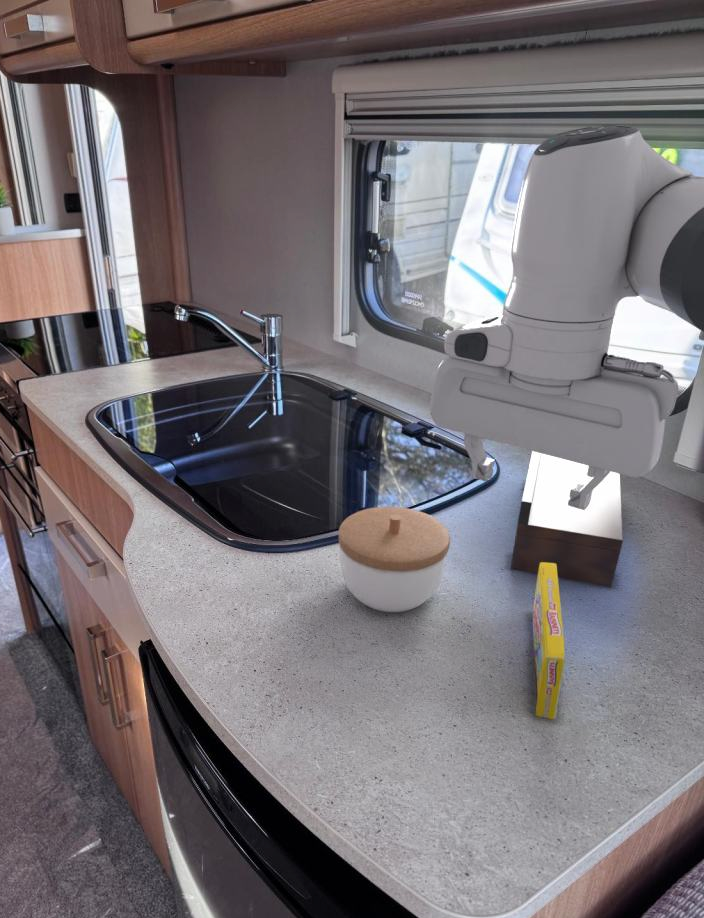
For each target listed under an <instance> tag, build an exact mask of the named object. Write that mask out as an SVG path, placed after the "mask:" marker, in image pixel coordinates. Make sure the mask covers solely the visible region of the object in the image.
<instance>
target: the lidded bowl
mask: <svg viewBox="0 0 704 918" xmlns="http://www.w3.org/2000/svg"><path fill="white" fill-rule="evenodd" d="M450 536H451V535H450V532H449V530H448V528H447V527H446V526H445V525H444V524H443V523H442V522H441V520H439V519H437V518H435V517H434V516H433V515H430V514H428V513H425V512H424V511H423V512H422V511H420V510H417V509H412V508H407V507H403V506H402V507H401V506H377V507H370V508H365V509H363V510H359V511H357V512H355V513H352V514H351V515H349V516H347V517H346V518H345V519H344V520H343V521H342V522H341V524H340V525H339V528H338V545H339V563H340V570H341V574H342V578H343V581H344V583H345V585H346V587H347V589H348V591H350V593H351V594H352V595H353V596H354V597H355V599H357V600H358V601H359V602H361V604H363V605H365V606H366V607H368V608H370V609H373V610H376V611H379V612H384V613H402V612H407V611H410V610H411V611H412V610H413V609H415V608H417V607H420V606H421V605H422V604H424V603H425V602H427V601H428V600H429V599H430V598H431V597H432V596H433V595H434V594H435V592H436V590H437V589H438V587H439V585H440V584H441V581H442V578H443V576H444V572H445V570H446V566H447V565H446V564H447V558H448V552H449V549H450V546H451V545H450V544H451V537H450Z"/></svg>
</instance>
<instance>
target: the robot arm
mask: <svg viewBox="0 0 704 918" xmlns="http://www.w3.org/2000/svg"><path fill="white" fill-rule="evenodd" d="M516 206H517V207H516V212H515V218H514V224H513V229H512V231H513V232H512V237H511V244H510V259H511V264H512V273H511V281H510V285H509V288H508V291H507V293H506V295H505V298H504V300H503V306H502V307H503V308H502V315H497V316H491V317H483V318H480V319H477V320H473V321H470V322H467V323H465V324H463V325H461V326H459V327H457V328H455V329H453V330H451V331H450V332H448V333H446V335H445V337H444V343H443V345H444V346H443V347H444V349H443V350H444V353H445V355H447V357H445V358H444V359H442V361H441V362H440V364H439V365H438V367H437V368H436V373H435V377H434V380H433V386H432V392H431V399H430V407H429V408H430V410H429V411H430V412H429V413H430V414H429V415H430V417H431V419H432V420H433V422H434V424H435V425H436V427H438V428H441V429H445V430H450V431H453V432H457V433H460V434H464V438H463V445H464V448H465V450H466V452H467V454H468V456H469V459H470V461H471V462H472V466H471V467H472V468H471V474H470V475H471V478H472V479H476V480H479V481H483V482H488V480H490V479H491V478H492V477H493V474H494V467H495V462H496V460H495V459H493V458H489V457H488V455H487V453H486V450H485V447H484V444H483V442H484V441H486V440H488V441H491V442H496V443H499V444H502V445H503V444H504V445H507V446H511V447H515V448H519V449H523V450H526V451H530V452H532V451H534V452H538V453H542V454H546V455H549V456H553V457H557V458H561V459H565V460H569V461H573V462H576V463H580V464H584V465H588V466H589V467H588V472H587V476H589V477H593V478H592V479H591V480H590V481H589V482H588V483H587V484H586V485H585V484H581V483H576V484H575V487H573V488H572V489H571V490H570V495H569V496H570V499H569V501H568V506H572V507H575V508H578V509H582V510H585V509H586V508H587V507H588V505H589V503H590V500H591V496H592V491H593V489H594V488H595V487H596V486H597V485H598V484H600V483H601V482H602V481H603V480H604V478H605V477H606V476H607V475H608V474H609V473H610V471H611V472H615V473H619V474H620V475H622V476H627V477H631V478H640V477H642V476H644V475H646V474H648V473H649V472H651V471H652V470H653V469H654V467H655V466H656V464H657V463H658V461H659V459H660V456H661V452H662V447H663V442H664V435H665V425H666V419H667V418H668V417H669V416H670V415H671V414H672V413H673V412H674V409H675V405H676V402H677V399H678V394H679V383H678V380H677V379H676V377H675V376H674V375H673V374H672V373H671V372H670V371H668V370H666V369H664V368H665V367H664V365H663V364H661V363H657V362H655V361H640V360H636V359H632V358H629V357H625V356H620V355H615V354H609V353H608V352H609V347H610V343H611V338H612V332H613V328H614V321H615V318H616V312H617V307H618V304H619V302H620V301H622V299H625V298H638V299H641V300H643V301H644V302H645V303H648V304H650V305H652V306H655V307H657V308H660V309H662V310H665V311H667V312H669V313H672V314H674V315H675V316H677V317H678V318H680V319H681V320H683V321H685V322H686V323H688V324H690V325H692V327H694V328H696V329H698V330H699V331H701V332H703V333H704V176H698V175H695V174H694V173H693V172H692V171H689V170H687V169H684V168H683V167H681V166H680V165H679V166H678V164H675V163H673V162H671V161H670V160H669V159H667V158H665V157H664V156H663V155H661V154H660V153H659V152H657V151H656V150H655V149H654V148H653V147H652V146H651V145H650V144H649V143H648V142H647V141H646V140H645V139H644V137H643V135H642V133H641V130H640V129H638V128H637V127H633V126H631V125H627V124H605V125H600V126H594V127H593V126H588V127H587V126H586V127H583V128H576V129H572V130H568V131H564V132H560V133H557V134H555V135H553V136H551V137H549V138H547V139H545V140H543V142H542V143H541V144H539V145H538V146H537V147H536V149H534V151H533V153H532V154H531V156H530V159H529V161H528V164H527V166H526V170H525V173H524V176H523V179H522V184H521V188H520V193H519V198H518V201H517V205H516ZM662 376H664V377H662Z"/></svg>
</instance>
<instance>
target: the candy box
mask: <svg viewBox="0 0 704 918" xmlns="http://www.w3.org/2000/svg"><path fill="white" fill-rule="evenodd" d="M560 595H561V594H560V586H559V578H558V574H557V565H556V564H555V563H545V562H541V563H540V565H539V570H538V574H537V579H536V586H535V593H534V601H533V608H532V615H531V616H532V639H533V640H532V641H533V667H534V668H533V671H534V672H533V673H534V687H535V688H534V690H535V691H534V692H535V716H536V717H540V718H545V719H550V720H554V719H556V717H557V710H558V707H559V706H558V705H559V700H560V699H559V698H560V692H561V687H562V681H563V675H564V669H565V663H566V657H565V635H564V627H563V619H562V618H563V616H562V607H561V605H562V604H561V596H560Z"/></svg>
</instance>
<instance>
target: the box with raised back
mask: <svg viewBox="0 0 704 918" xmlns="http://www.w3.org/2000/svg"><path fill="white" fill-rule="evenodd" d="M588 467H589V466H588V465H584V464H580V463H576V462H573V461H569V460H565V459H561V458H557V457H553V456H549V455H546V454H542V453H538V452H534V451H531V455H530V459H529V464H528V469H527V473H526V476H525V477H526V478H525V482H524V487H523V491H522V497H521V500H520V507H519V514H518V520H517V525H516V531H515V538H514V542H513V543H514V544H513V550H512V557H511V562H510V567H509V568H510V570H515V571H520V572H525V573H532V574H536V575H538V570H539V565H540V563H541V562H545V563H555V564H556V565H557V574H558V579H563V580H569V581H575V582H580V583H585V584H590V585H595V586H601V587H607V588H612V587H613V583H614V578H615V576H616V575H615V574H616V571H617V567H618V562H619V559H620V555H621V550H622V548H623V547H622V546H623V543H624V532H623V511H622V488H621V487H622V486H621V474H619V473H615V472H611V471H610V473H609V474H608V475H607V476H606V477H605V478H604V480H603V481H602V482H601V483H600V484H598V485H597V486H596V487H595V488H594V489H593V491H592V496H591V500H590V503H589V505H588V507H587V508H586V509H585V510H582V509H578V508H575V507H572V506H568V501H569V499H570V496H569V495H570V490H571V489H572V488H573V487H575V484H576V483H581V484H585V485H586V484H587V483H588V482H589V481H590V480H591V479H592V478H593V477H589V476H587V472H588Z"/></svg>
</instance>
